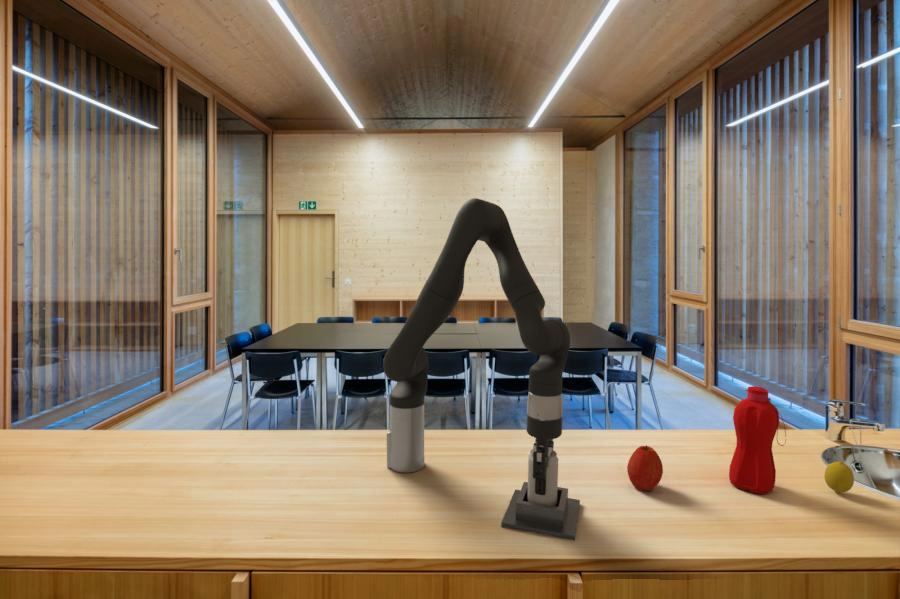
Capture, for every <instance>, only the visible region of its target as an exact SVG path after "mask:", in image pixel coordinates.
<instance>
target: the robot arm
mask: <svg viewBox="0 0 900 599" xmlns="http://www.w3.org/2000/svg"><path fill="white" fill-rule="evenodd" d="M478 241H481V242H484V243H485V244H486V245H487V247H488V249H490V251H491V253H492V255H493V256H494V257H495V260H496V263H497V266H498V274H499V281H500V284H501V287H502V288H501V289H502V291H503V293H504V295H505V297H506V298H507V301H508V303H509V304H510V306H511V308H512V310H513V311H514V314H515V315H514V316H515V319H516V324H517V327H518V332H519V336H520V340H521V341H522V343H523V346H524V348H525V349H526V350H527V351H528V352H529V353H531V354H532V355H534V356H539V358H538V360H537V362H536V363H534V364H533V365H532V366H531V367H530V368H529V373H528V374H529V375H528V395H527V399H526V400H527V403H526V433H527V434H528V435H529V436H531V437H533V438H534V439H535V440H534V443H533V447H532V449H533V451H534V453H533V478H535V493H536V494H538V495H545V493H546V477H547V468H548V467H549V466H550V457H551V455H552V451H553V450H554V446H555V441H554V440H555V439H558V438H560V437H561V436H562V434H563V409H564V403H563V374H564V370H565V366H566V364H567V359H568V356H569V351H570V347H571V334H570V330H569V328H568V326H567V324H566V323H564V321H562V320H560V319H547V320H543V318H542V314H541V312H542V311H543V309H544V308H545V306H546V301H545V298H544V295H543V294H542V293H541V290H540V288H539V287H538V285H537V283H536V282H535V280H534V279H533V278H534V277H532V275H531V272H530V270H529V269H528V268H527V265H526V263H525V261H524V259H523V257H522V256H523V255H522V254H521V252H520V250H519V247H518V244H517V242H516V239H515V237H514V235H513V231H512V229H511V226H510V222H509V220H508V217H507V215H506V213H505V211H504V209H503V208H501V207H500V206H499V205H497V204H496V203H492V202H490V201H487V200H484V199H480V198H471V199H468V200H466V201H465V202H464V203H463V204H462V205H461V207H460V208H459V210H458V211H457V213H456V216H455V217H454V221H453V223H452V226H451V228H450V231H449V233H448V236H447V238H446V241H445V244H444V245H443V248H442V250H441V252H440V254H439V256H438V258H437V260H436V262H435V264H434V267H433V268H432V270H431V272H430V274H429V276H428V278H426V280H425V283H424V285H423V287H422V288H421V291H420V293H419V295H418V297H417V299H416V301H415V303H414V305H413V306H412V308H411V310H410V313H409V315H408V316H407V319H406V320H405V322H404V324H403V326H402V328H401V330H400V331H399V333H398V334H397V336H396V337H395V339H394V340H393V341H392V343H391V344H390V346H389V347H388V349H387V351H386V352H385V355H384V358H383V361H382V362H383V363H382V365H383V372H384V374H385V376H386V377H387V378H388V379H389V380H390V381H392V382H395V383H396V384H395V386H394V387H393V389H392V391H391V392H390V393H389V402H388V403H389V430H388V432H386V467H387V468H389V469H391V470H392V471H394V472H397V473H405V474H406V473H414V472H418V471H421V470H422V469H423V468H424V467H425V396H426V394H427V391H428V381H429V380H428V379H429V378H428V377H429V358H428V353H427V352H426V350H425V347H424V346H425V344H426V343H427V341H428V340H429V339H430V338H431V337H432V336H433V335H434V333H435V332H436V331H437V330H438V329H440V327H441V326H442V325H443V324H444V323H445V322H446V321H447V319H448V318H449V317H450V316H451V314H452V313H453V311H454V309H455V307H456V305H457V304H458V302H459V300H460V298H461V296H462V294H463V291H464V287H465V286H464V284H465V268H466V264H467V260H468V257H470V254H471V252H472V250H473V248H474V247H475V245H476V243H477V242H478ZM546 458H547V462H546ZM538 469H541V470H542V471H543V472H538Z"/></svg>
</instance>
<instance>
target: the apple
mask: <svg viewBox="0 0 900 599" xmlns="http://www.w3.org/2000/svg"><path fill="white" fill-rule="evenodd" d="M628 459H629V460H628V463H627V467H626V469H627V471H626V472H627V476H628V479H629V480H630V482H631V484H632V486H633V487H634V488H636V489H638V490H640V491H644V492H645V491H651V490H654V489H655V488H656V487H657V486H658V485H659V484H660V482H661V480H662V477H663V474H664V467H663V462H662V460H661V458H660V456H659V454H658V453H657V451H656V450H655V449H654V448H653V447H651V446H649V445H647V444H646V445H641V446H638V447H637V448H636V449H635V450H634V451H633V452H632V454H631V455H630V457H629V458H628Z"/></svg>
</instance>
